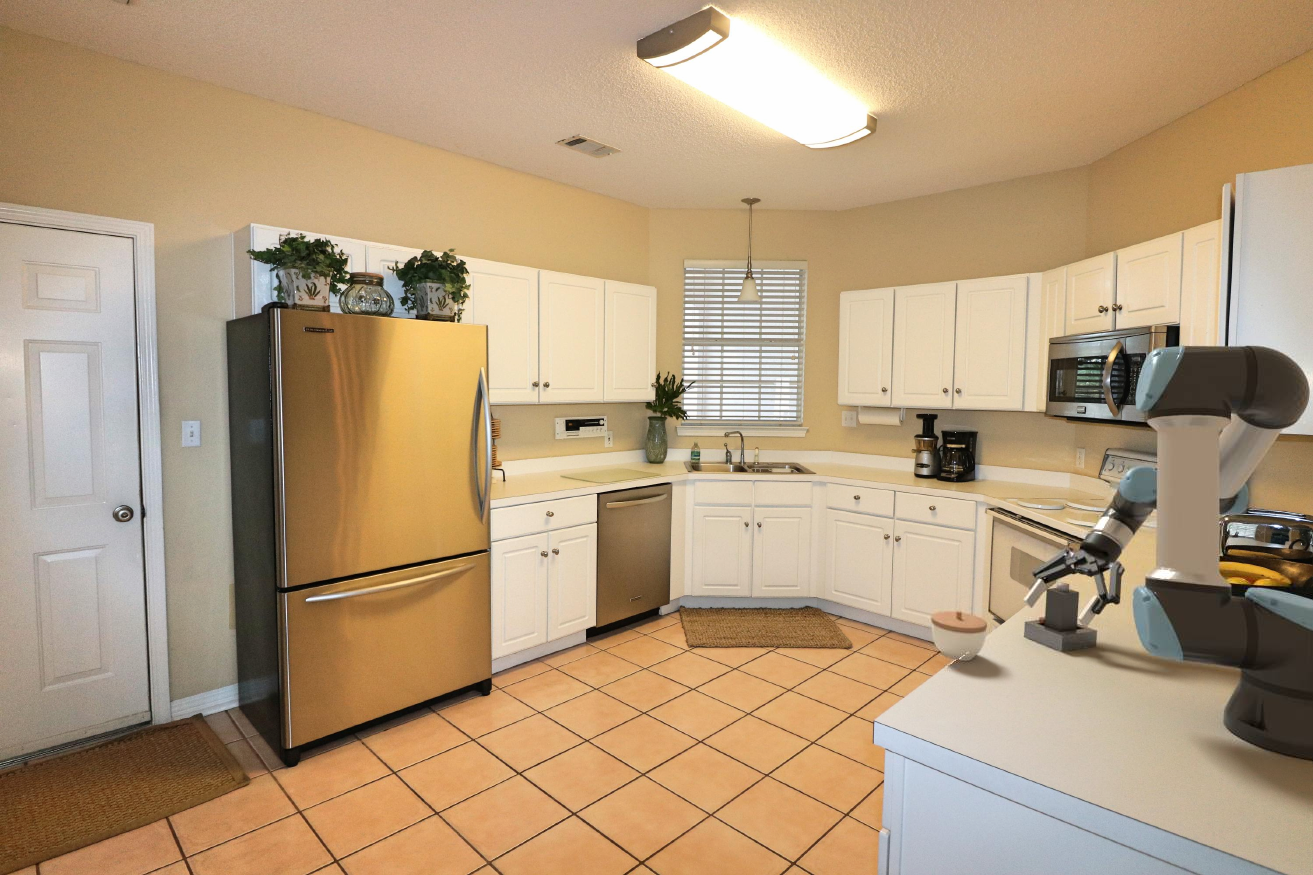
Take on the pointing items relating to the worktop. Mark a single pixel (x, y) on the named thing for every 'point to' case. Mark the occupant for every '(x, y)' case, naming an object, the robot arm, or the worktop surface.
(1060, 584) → the plug
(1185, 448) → the robot arm
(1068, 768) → the worktop surface
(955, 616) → the lidded jar
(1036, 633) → the socket
